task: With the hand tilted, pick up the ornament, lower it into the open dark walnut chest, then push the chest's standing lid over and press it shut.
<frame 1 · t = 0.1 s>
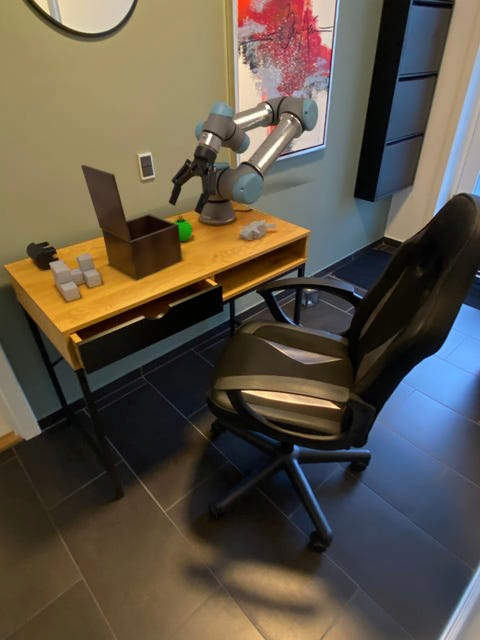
hand: (184, 208, 138), 15 cm above the table, tool tilted 35°, fingers open, 13 cm apart
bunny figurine: (256, 235, 157), on the table
chest lid: (106, 203, 118), point 23 cm above the table, hinge at 95.0°
chest: (146, 262, 137), on the table
ornament: (182, 240, 153), on the table
grey cube cluster: (81, 288, 124), on the table
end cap: (45, 264, 137), on the table
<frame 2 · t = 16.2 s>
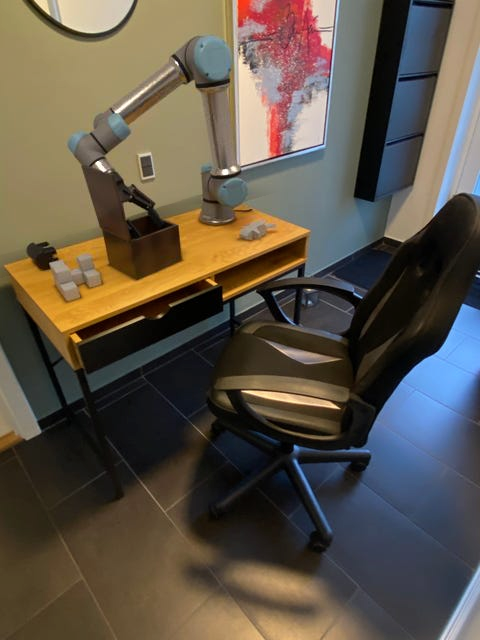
hand: (151, 231, 131), 11 cm above the table, tool tilted 45°, fingers open, 11 cm apart
ornament: (146, 253, 136), point 3 cm above the table, touching chest
everything else where it was.
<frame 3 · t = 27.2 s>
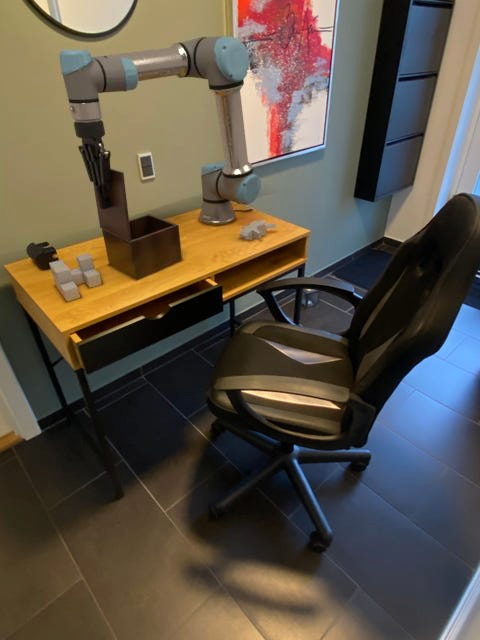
hand: (105, 207, 118), 22 cm above the table, tool pointing down, fingers closed
chest lid: (110, 202, 119), point 23 cm above the table, hinge at 86.3°, touching gripper
everything else where it was.
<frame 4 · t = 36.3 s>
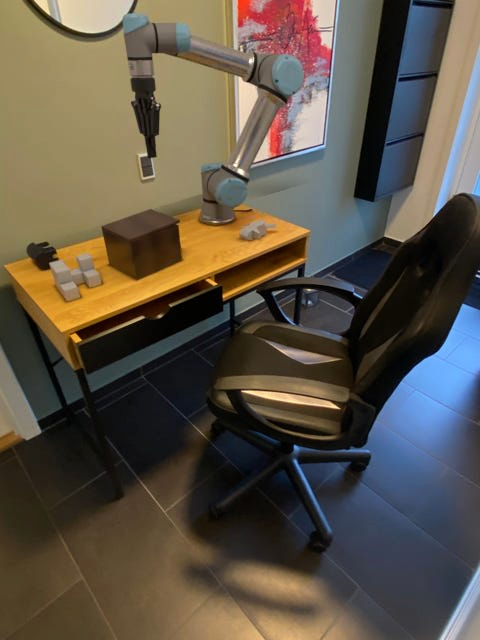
hand: (152, 157, 136), 30 cm above the table, tool pointing down, fingers closed
chest lid: (141, 224, 130), point 14 cm above the table, hinge at 1.8°
everything else where it was.
at the end: ornament inside the target area in the chest (0.5 cm from its centre), point 3.2 cm above the chest's base; chest lid at +2° (first picture: +95°) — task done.
